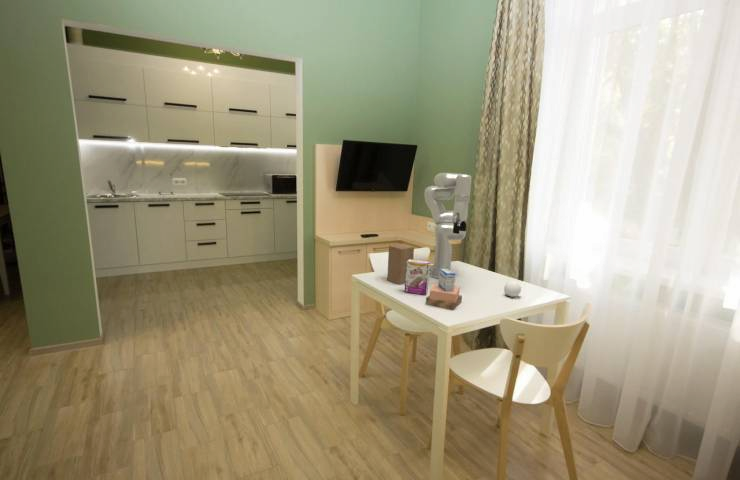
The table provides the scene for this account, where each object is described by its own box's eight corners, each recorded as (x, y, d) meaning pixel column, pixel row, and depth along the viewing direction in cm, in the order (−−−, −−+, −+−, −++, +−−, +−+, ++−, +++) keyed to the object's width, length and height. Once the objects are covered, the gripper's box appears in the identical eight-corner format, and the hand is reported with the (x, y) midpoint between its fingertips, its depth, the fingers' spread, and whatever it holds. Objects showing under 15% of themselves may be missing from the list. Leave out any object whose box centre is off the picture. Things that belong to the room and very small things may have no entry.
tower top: (429, 298, 174) (429, 290, 173) (434, 291, 185) (434, 283, 184) (455, 302, 170) (456, 294, 169) (459, 294, 181) (459, 286, 181)
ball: (520, 300, 187) (522, 284, 185) (503, 297, 189) (505, 282, 188) (519, 295, 194) (521, 280, 193) (503, 292, 197) (504, 278, 195)
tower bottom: (425, 305, 176) (426, 297, 175) (435, 298, 187) (436, 290, 186) (452, 312, 170) (453, 303, 169) (461, 303, 181) (462, 295, 180)
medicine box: (438, 286, 180) (439, 268, 178) (446, 285, 181) (448, 268, 180) (445, 291, 173) (446, 273, 171) (454, 291, 174) (455, 273, 172)
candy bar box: (404, 292, 191) (405, 261, 188) (406, 289, 196) (408, 259, 193) (426, 295, 188) (428, 263, 184) (427, 292, 192) (430, 261, 189)
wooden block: (399, 285, 203) (401, 248, 199) (386, 280, 210) (388, 245, 207) (412, 281, 210) (414, 246, 206) (399, 277, 217) (401, 243, 213)
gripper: (460, 197, 201) (458, 229, 205) (448, 199, 187) (446, 233, 190) (474, 198, 197) (471, 231, 201) (463, 200, 183) (460, 235, 186)
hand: (459, 232), depth 196 cm, fingers open, 9 cm apart
